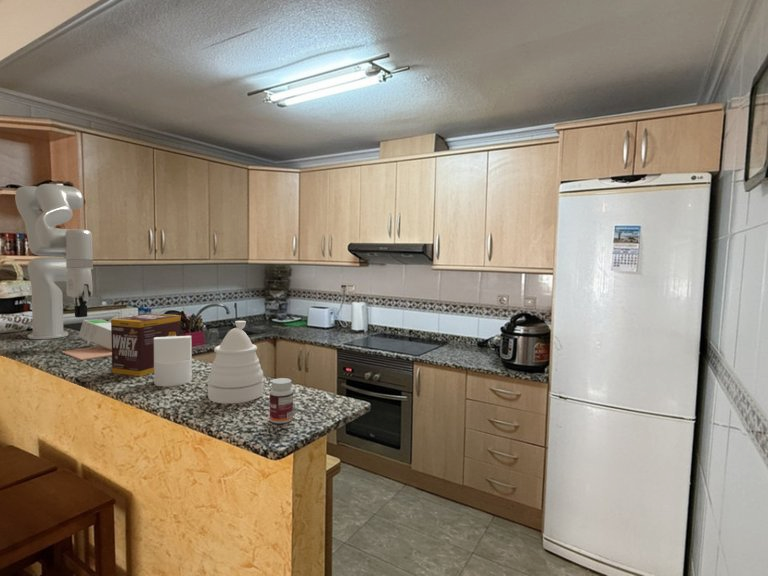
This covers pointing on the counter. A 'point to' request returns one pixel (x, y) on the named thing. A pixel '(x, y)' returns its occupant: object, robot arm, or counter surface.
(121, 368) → the supplement box
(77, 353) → the mat
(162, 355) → the cylinder with rectangular tab
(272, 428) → the counter surface
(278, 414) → the pill bottle
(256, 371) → the honey pot
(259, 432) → the counter surface
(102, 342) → the skincare box
